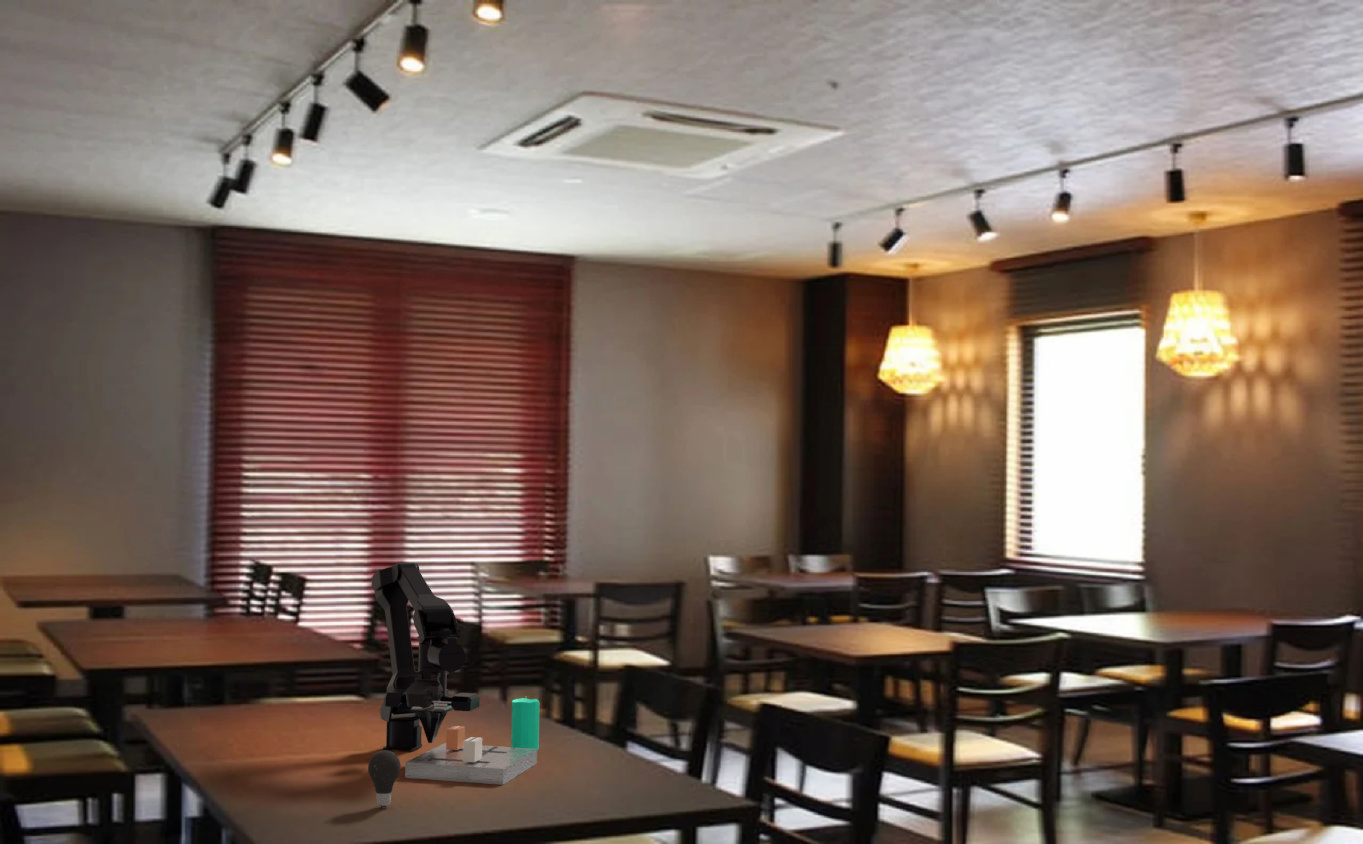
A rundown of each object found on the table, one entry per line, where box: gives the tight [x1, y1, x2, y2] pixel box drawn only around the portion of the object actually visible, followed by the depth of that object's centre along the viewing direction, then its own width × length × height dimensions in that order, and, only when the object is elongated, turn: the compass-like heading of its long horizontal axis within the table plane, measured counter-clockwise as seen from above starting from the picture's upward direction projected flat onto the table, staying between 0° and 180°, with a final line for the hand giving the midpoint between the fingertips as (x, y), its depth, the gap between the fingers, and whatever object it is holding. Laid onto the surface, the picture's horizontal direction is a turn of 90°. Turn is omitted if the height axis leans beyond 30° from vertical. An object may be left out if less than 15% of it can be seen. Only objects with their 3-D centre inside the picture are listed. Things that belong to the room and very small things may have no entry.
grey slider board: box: [404, 742, 538, 786], centre depth 280 cm, size 20×20×3 cm
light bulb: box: [367, 750, 401, 809], centre depth 249 cm, size 6×6×10 cm
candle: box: [510, 697, 540, 752], centre depth 302 cm, size 6×6×12 cm
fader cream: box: [463, 736, 483, 763], centre depth 275 cm, size 2×4×7 cm, turn 168°
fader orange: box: [445, 725, 466, 750], centre depth 286 cm, size 2×4×7 cm, turn 167°
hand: (430, 742), depth 287 cm, fingers closed
